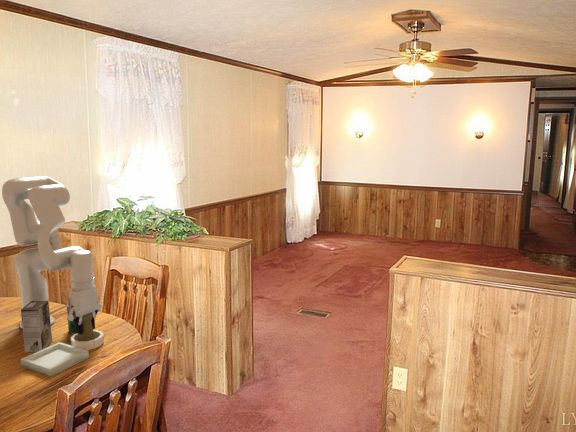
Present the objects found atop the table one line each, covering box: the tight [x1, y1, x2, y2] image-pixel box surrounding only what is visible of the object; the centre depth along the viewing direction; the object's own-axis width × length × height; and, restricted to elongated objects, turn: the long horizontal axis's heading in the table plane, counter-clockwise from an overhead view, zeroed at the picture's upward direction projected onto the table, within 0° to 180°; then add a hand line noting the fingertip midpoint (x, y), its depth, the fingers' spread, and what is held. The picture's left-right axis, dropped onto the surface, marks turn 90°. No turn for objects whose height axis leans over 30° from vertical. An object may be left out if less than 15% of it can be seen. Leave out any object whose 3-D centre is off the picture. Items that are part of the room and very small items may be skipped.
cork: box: [78, 313, 95, 341], centre depth 178 cm, size 6×6×11 cm
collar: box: [70, 329, 105, 351], centre depth 179 cm, size 11×11×3 cm
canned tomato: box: [66, 303, 76, 335], centre depth 190 cm, size 8×8×11 cm
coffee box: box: [20, 300, 53, 353], centre depth 175 cm, size 9×6×16 cm
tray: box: [20, 341, 90, 377], centre depth 165 cm, size 15×15×2 cm
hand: (85, 330), depth 179 cm, fingers closed on cork, 4 cm apart
